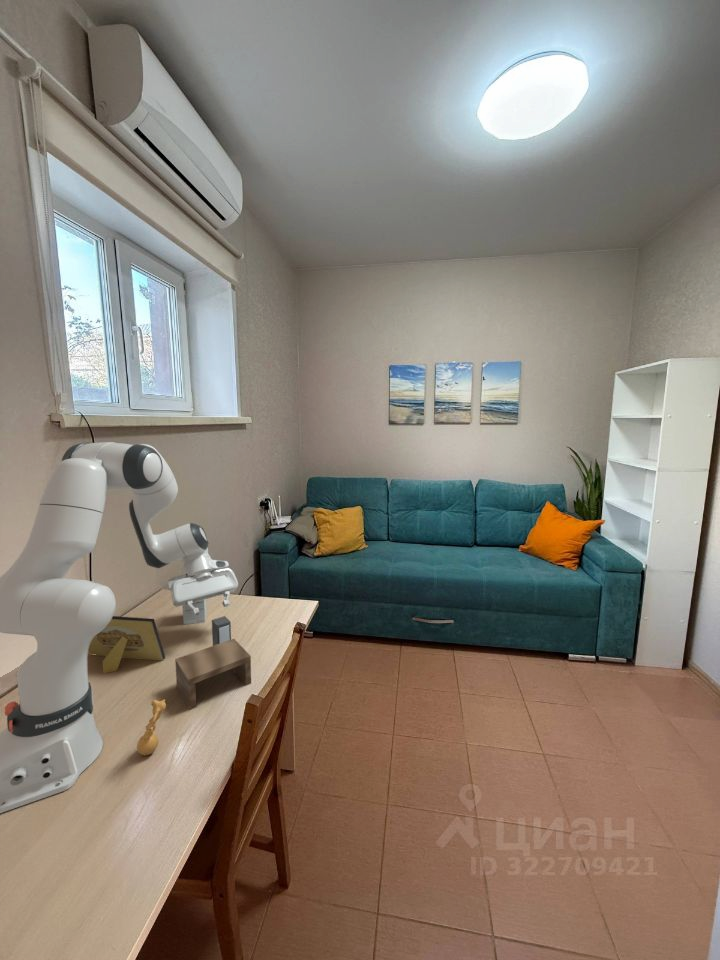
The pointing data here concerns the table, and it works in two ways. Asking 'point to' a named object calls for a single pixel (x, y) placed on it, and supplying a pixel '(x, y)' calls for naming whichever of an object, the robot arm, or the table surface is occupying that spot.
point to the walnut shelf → (211, 667)
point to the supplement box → (188, 614)
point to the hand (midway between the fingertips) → (212, 610)
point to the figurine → (151, 730)
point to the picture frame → (127, 641)
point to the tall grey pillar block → (221, 630)
